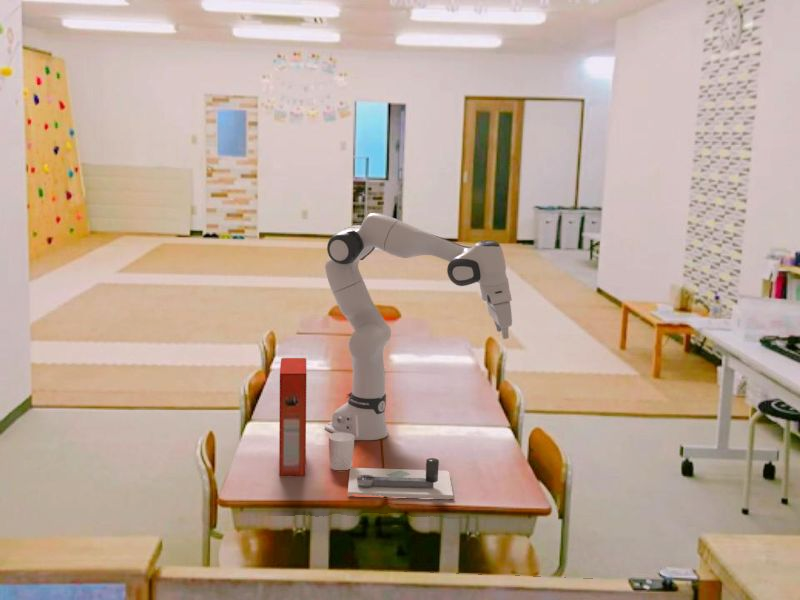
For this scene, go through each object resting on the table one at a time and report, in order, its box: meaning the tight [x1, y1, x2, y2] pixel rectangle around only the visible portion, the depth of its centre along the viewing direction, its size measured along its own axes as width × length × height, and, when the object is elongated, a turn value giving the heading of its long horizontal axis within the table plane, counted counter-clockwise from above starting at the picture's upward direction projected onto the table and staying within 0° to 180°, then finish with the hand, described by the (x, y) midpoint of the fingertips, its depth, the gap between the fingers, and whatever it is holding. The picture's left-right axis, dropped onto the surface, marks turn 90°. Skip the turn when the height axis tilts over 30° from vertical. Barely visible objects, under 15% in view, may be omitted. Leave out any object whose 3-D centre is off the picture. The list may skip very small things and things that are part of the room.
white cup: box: [328, 432, 355, 471], centre depth 267 cm, size 8×8×10 cm
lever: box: [357, 457, 440, 488], centre depth 251 cm, size 23×5×8 cm, turn 91°
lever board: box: [347, 467, 454, 500], centre depth 256 cm, size 30×18×2 cm, turn 91°
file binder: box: [278, 357, 307, 477], centre depth 265 cm, size 8×17×32 cm, turn 6°
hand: (502, 334), depth 272 cm, fingers open, 8 cm apart
